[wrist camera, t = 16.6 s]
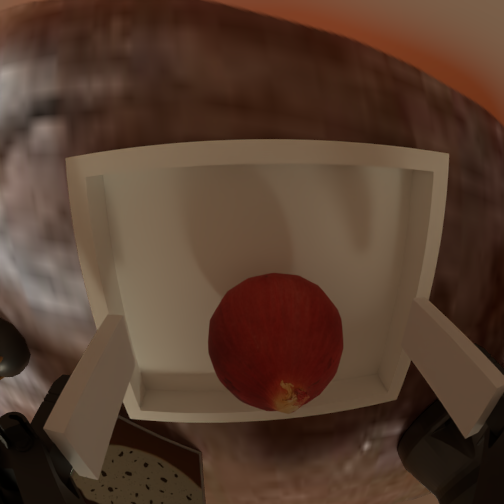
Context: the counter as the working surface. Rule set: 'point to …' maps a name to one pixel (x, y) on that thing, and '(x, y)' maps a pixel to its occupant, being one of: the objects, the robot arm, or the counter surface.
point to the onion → (275, 341)
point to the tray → (255, 256)
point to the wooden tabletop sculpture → (12, 351)
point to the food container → (144, 470)
